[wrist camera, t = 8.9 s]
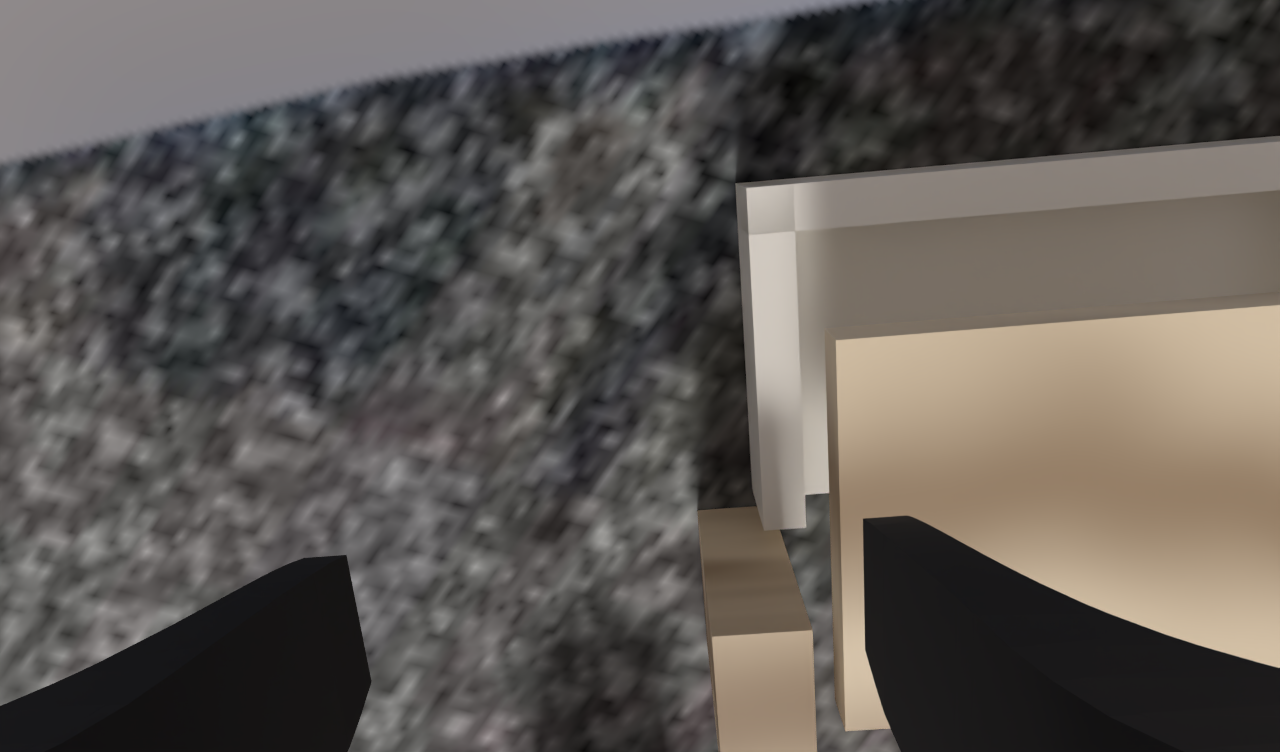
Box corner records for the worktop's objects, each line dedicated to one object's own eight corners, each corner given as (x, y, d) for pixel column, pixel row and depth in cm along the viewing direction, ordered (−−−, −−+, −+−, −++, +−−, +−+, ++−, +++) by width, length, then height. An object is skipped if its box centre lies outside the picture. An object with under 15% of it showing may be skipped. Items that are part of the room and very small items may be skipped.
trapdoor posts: (1326, 599, 23) (1557, 754, 17) (707, 640, 23) (723, 802, 18) (1347, 463, 22) (1600, 578, 16) (697, 510, 22) (712, 636, 17)
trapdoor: (1322, 874, 20) (1480, 1045, 16) (829, 900, 21) (869, 1072, 17) (1421, 263, 16) (1659, 298, 12) (810, 312, 17) (855, 361, 13)
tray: (1330, 131, 19) (1426, 128, 17) (1290, 450, 22) (1369, 488, 19) (735, 183, 20) (746, 187, 18) (752, 489, 22) (764, 530, 20)
